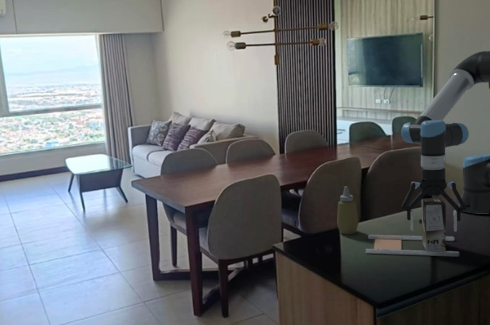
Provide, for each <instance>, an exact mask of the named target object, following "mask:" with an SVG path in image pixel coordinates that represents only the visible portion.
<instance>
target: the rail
mask: <svg viewBox="0 0 490 325" xmlns="http://www.w3.org/2000/svg"><path fill="white" fill-rule="evenodd" d="M367 237H368V240H375V239H384V240H401V241H402V240H403V241H405V240H406V241H423V235H404V234H403V235H397V234H395V235H392V234H368V236H367ZM454 241H455V237H454V236H448V235H446V242H454ZM365 254H375V255H402V256H404V255H406V256H409V255H410V256H436V257H437V256H438V257H460V252H459V251H453V250H448V251H447V250H446V251H426V250H425V249H424V250H420V249H419V250H417V249H414V250H413V249H401V250H391V249H374V248H365Z"/></svg>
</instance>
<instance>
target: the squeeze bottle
mask: <svg viewBox="0 0 490 325" xmlns="http://www.w3.org/2000/svg"><path fill="white" fill-rule="evenodd" d="M339 198H340V201H338V202H337V218H336V219H337V220H336V225H337V227H338V230H339V233H341V234H343V235H352V234H353V235H354V234H355V233H357V229H358V226H359V218H358V211H357V210H358V209H357V203H356V201H354V196H353V195H352V194H350V191H349V187H348V185H347V186H344V187H343V194H341V195H340V197H339Z"/></svg>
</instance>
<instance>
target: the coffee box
mask: <svg viewBox="0 0 490 325" xmlns="http://www.w3.org/2000/svg"><path fill="white" fill-rule="evenodd" d="M446 205H447V204H446V203H445V202H444V200H443V199H442V198H441V197H431V198H422V199H421V227H422V228H421V229H422V230H421V231H422V236H423V240H422V245H423V246H424V250H425V251H447V249H446V247H447V245H446V242H447V241H446V236H447V234H446V225H447V224H446V223H447V222H446V220H447V219H446V217H447V216H446V215H447V214H446V213H447V212H446V211H447V210H446V209H447V207H446Z"/></svg>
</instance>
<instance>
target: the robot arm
mask: <svg viewBox="0 0 490 325" xmlns="http://www.w3.org/2000/svg"><path fill="white" fill-rule="evenodd" d="M481 83H488V90H490V50H483V51H478V52H476V53H473V54H471V55H470V56H468V57H466V58H465V59H464V60H462V61H461V62H459V63H458V64H457V65H456V67H454V68H453V70H452V71H451V72H450V73H449V77H448V80H447V81H446V83H445V84H444V85H443V86H442V87H441V89H440V90H439V91H438V92H437V94H436V95H435V96H434V97H433V99H432V100H431V101H430V102H429V103H428V105H427V106H425V108H424V110H422V112H421V113H420V114H419V116H418V117H417V118H416V119H415V121H413V122H412V121H410V122H406V123H404V124H403V126H402V128H401V132H400V135H401V138H402V140H403V141H404V142H405V143H409V144H414V145H416V144H417V145H418V144H419V145H420V166H421V169H420V182H416V181H411V184H410V188H409V190H408V192H407V194H406V196H405V198H404V200H403V202H402V204H401V210H405V211H406V219H407V221H410V231H414V210H413V209H414V207H415V206H417V204H418V203H419V202H420V201H422V199H424V197H425V196H426V195H427V196H428V197H432V196H435V197H438V196H440V195H441V196H442V197H443V198H444V199H445V200H446V201H447V203H449V204H450V206H451V207H453V209H454V210H453V231H454V233H455V232H456V233H457V232H458V222H460V221H461V218H462V217H461V215H462V214H461V213H463V212H468V213H490V153H481V154H475V155H474V154H473V155H468V156H466V157H464V158H463V163H462V194H460V193H459V192H458V189H457V185H456V184H457V183H456V182H455V181H454V180H452V181H449V182H447V181H446V148H450V147H453V146H454V147H455V146H460V145H462V144H464V143H466V141H467V140H468V138H469V136H470V135H469V134H470V133H469V129H468V127H467V126H466V124H464V123H461V122H452V123H446V122H445V121H444V119H445V118H446V117H447V115H449V113H450V112H451V111H452V110H453V108H454V107H455V105H456V104H457V103H458V102H459V100H460V99H461V97H462V96H463V95H464V94H465V93H466V92H467V91H469V90H471V89H472V88H473V87H474V86H475V85H477V84H481ZM418 187H420V189H421V191H420V192H419V193H418V194H417V196H415V198H414V199H412V201H411V202H410V203H409V201H410V200H411V198H412V196H413V194H414V192H415V190H417V189H418ZM447 187H448V188H449V189H450V190H452V192H453V195H454V196H455V197H456V200H457V202H458V204H457V202H455V201H454V200H453V198H452V197H451V196H450V195H448V193H447V192H446V191H445V189H447ZM461 211H463V212H461Z"/></svg>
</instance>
